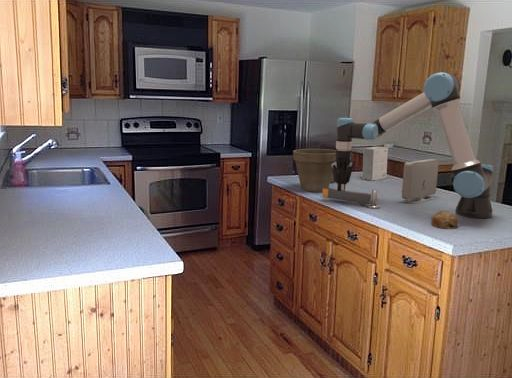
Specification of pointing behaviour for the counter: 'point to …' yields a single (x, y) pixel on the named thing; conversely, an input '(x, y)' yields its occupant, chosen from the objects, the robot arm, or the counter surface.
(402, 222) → the counter surface
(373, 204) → the pivot post
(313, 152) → the plant pot
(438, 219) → the bread roll
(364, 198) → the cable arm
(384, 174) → the hard drive box
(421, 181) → the network device
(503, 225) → the counter surface
